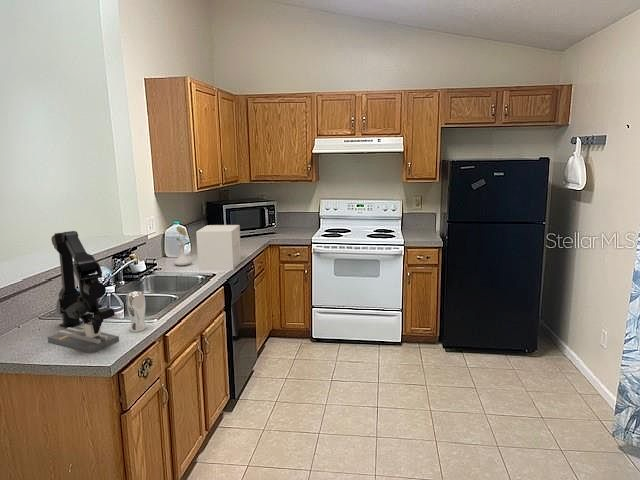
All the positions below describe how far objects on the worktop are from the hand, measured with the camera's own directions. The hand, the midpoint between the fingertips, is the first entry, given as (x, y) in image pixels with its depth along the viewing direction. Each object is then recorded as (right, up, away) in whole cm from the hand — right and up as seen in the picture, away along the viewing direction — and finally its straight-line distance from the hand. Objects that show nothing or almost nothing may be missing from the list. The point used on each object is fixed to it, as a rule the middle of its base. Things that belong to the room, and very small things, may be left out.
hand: (93, 332), depth 170 cm
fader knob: (0, -2, 0) cm, 2 cm away
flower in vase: (-4, +19, +124) cm, 126 cm away
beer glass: (+11, -2, +15) cm, 19 cm away
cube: (+21, +18, +121) cm, 124 cm away
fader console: (-5, -4, +3) cm, 7 cm away
